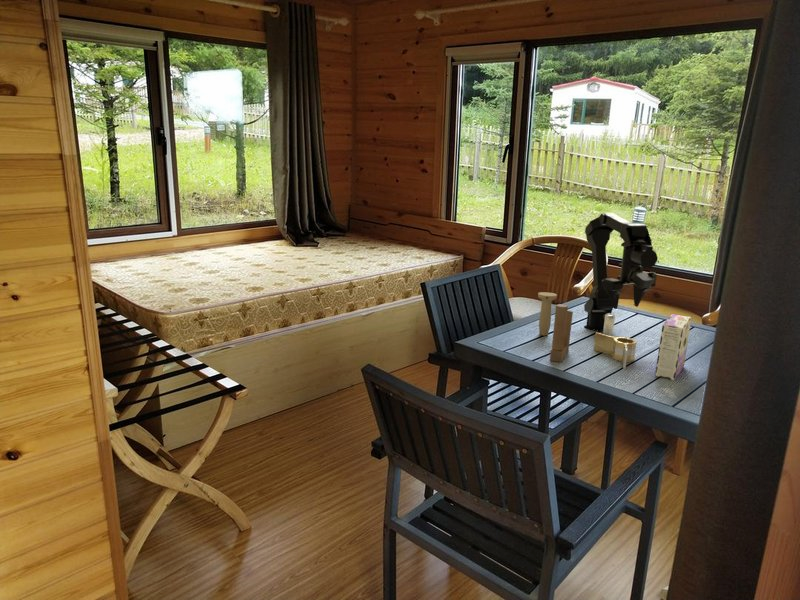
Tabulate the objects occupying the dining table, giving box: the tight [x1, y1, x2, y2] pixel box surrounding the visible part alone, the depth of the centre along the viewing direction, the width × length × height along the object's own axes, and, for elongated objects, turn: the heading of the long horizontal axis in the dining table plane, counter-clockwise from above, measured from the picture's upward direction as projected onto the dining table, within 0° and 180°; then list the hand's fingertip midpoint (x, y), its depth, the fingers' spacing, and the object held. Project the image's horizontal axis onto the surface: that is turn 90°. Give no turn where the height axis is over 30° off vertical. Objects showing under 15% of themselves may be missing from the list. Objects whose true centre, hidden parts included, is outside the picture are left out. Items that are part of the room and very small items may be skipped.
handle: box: [537, 291, 558, 337], centre depth 213 cm, size 5×6×15 cm
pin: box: [602, 313, 616, 337], centre depth 207 cm, size 3×3×10 cm
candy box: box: [654, 313, 692, 381], centre depth 182 cm, size 14×6×16 cm, turn 145°
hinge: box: [593, 331, 637, 370], centre depth 193 cm, size 16×12×6 cm
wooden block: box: [549, 303, 574, 363], centre depth 192 cm, size 4×11×18 cm, turn 153°
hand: (625, 307), depth 203 cm, fingers open, 9 cm apart
